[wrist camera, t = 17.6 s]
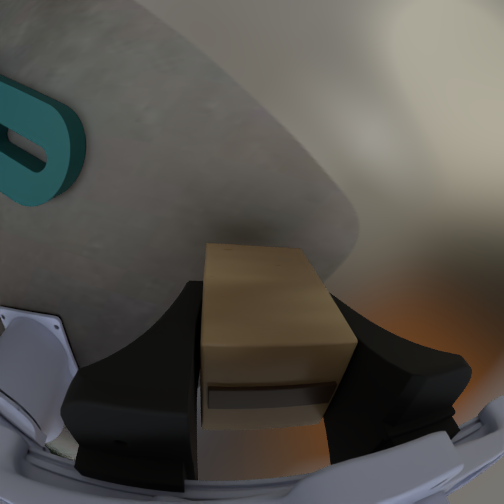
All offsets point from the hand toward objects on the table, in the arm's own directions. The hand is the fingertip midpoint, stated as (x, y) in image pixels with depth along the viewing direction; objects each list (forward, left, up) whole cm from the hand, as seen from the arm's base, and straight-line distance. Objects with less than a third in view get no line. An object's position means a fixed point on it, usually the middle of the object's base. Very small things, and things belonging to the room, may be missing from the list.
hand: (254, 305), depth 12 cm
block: (0, 0, -1) cm, 1 cm away
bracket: (+8, +19, -9) cm, 22 cm away
